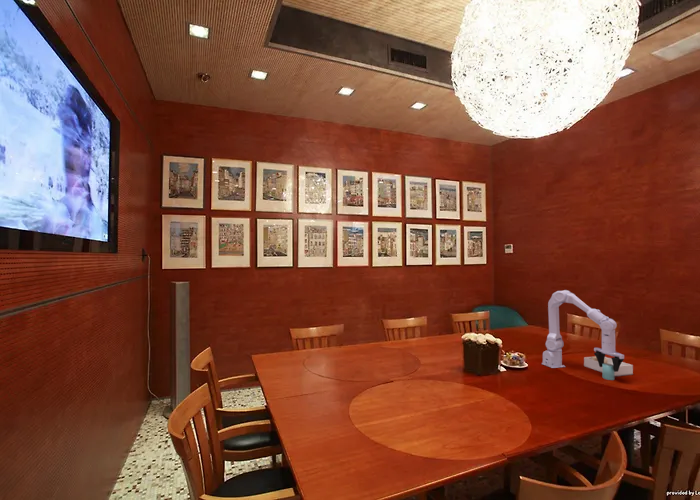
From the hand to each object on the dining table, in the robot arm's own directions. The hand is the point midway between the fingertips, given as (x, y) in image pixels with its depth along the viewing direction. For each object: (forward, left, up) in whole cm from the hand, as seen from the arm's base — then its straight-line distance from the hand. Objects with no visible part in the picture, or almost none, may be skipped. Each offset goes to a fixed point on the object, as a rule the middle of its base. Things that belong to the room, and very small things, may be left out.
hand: (608, 368), depth 179 cm
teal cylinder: (0, 0, -5) cm, 5 cm away
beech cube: (+12, +15, -4) cm, 19 cm away
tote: (+12, +10, -5) cm, 16 cm away
